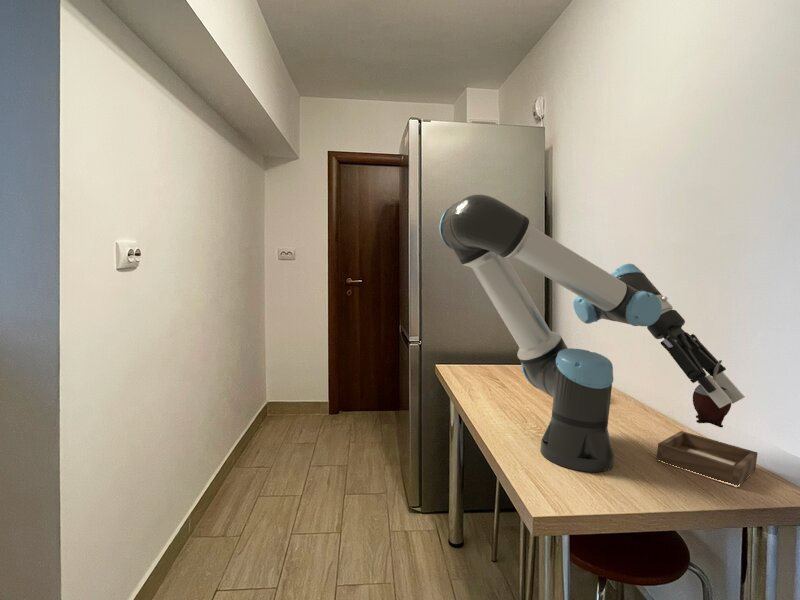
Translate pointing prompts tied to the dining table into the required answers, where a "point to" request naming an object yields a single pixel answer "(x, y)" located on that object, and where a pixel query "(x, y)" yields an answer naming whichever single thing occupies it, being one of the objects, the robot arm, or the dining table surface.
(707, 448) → the tray
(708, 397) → the mate gourd
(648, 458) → the dining table surface
